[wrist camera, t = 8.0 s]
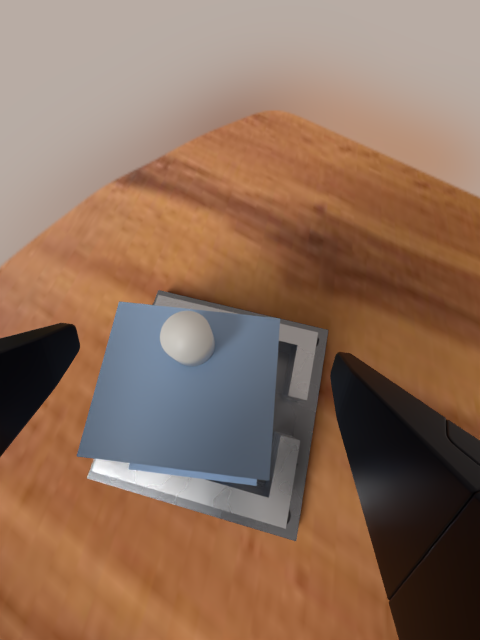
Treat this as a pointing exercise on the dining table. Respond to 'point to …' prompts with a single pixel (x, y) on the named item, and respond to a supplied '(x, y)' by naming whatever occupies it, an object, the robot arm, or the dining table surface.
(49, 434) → the dining table surface
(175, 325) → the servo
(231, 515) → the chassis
